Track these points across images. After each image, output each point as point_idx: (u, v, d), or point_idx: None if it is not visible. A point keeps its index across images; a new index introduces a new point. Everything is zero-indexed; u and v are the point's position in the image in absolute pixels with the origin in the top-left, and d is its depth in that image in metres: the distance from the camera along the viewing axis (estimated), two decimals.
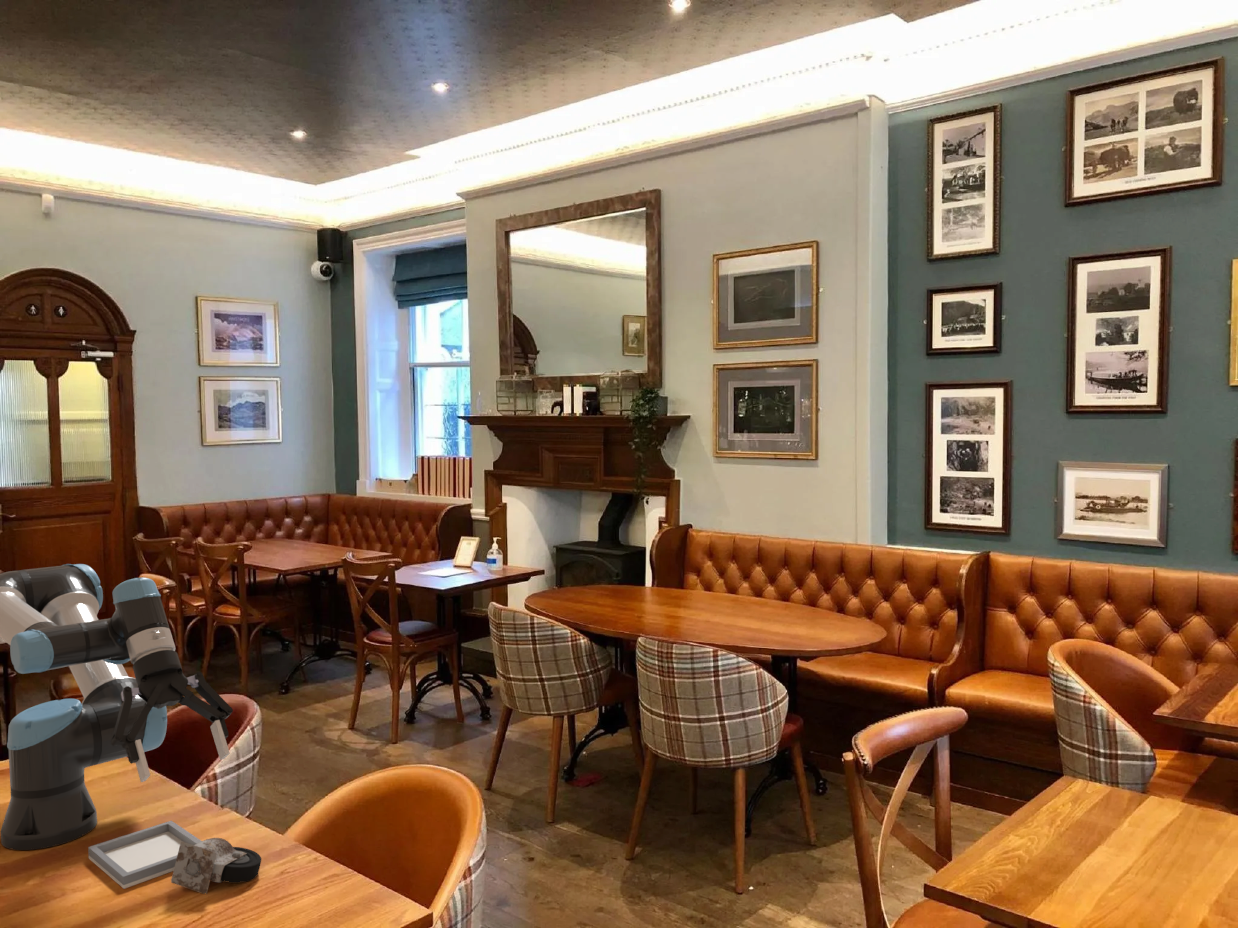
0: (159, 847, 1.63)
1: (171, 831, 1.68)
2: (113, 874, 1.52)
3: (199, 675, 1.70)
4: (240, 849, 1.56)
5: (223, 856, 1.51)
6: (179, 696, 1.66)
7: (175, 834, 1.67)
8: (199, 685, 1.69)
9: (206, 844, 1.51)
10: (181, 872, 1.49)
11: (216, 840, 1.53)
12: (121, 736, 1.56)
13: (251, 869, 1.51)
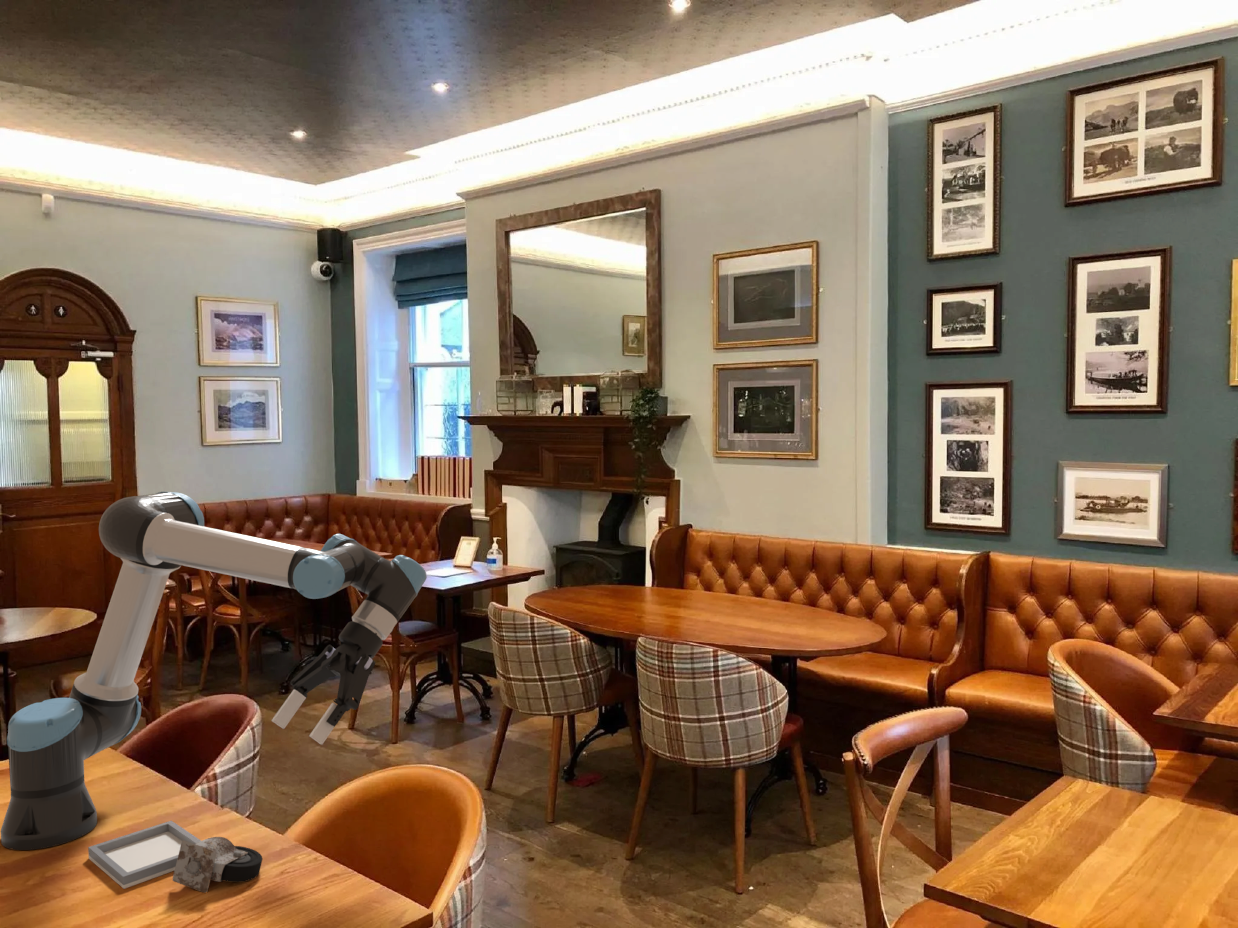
0: (159, 847, 1.63)
1: (171, 831, 1.68)
2: (113, 874, 1.52)
3: None
4: (242, 848, 1.56)
5: (224, 855, 1.52)
6: None
7: (175, 834, 1.67)
8: None
9: (207, 843, 1.51)
10: (182, 871, 1.49)
11: (217, 839, 1.54)
12: None
13: (252, 868, 1.51)
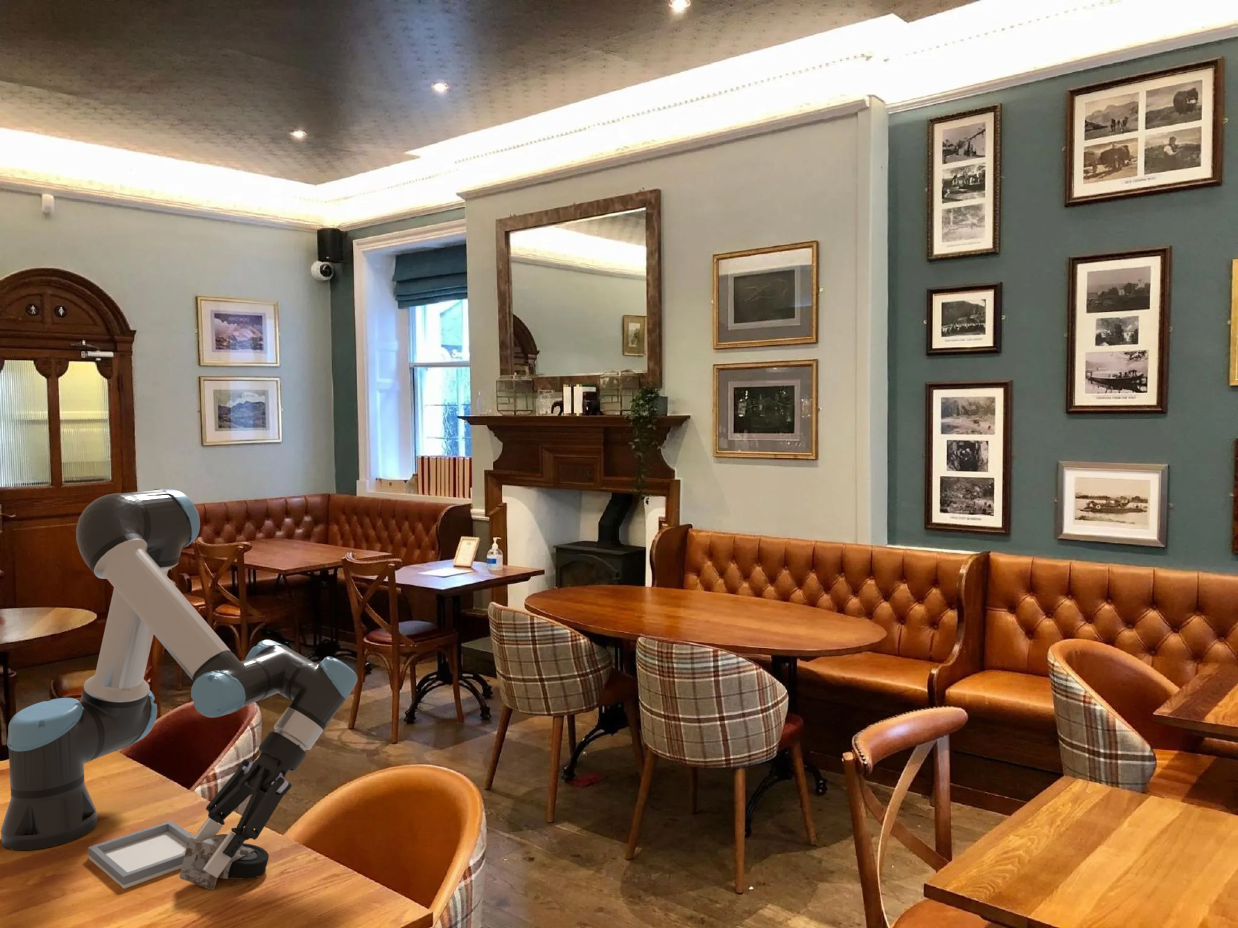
0: (159, 847, 1.63)
1: (171, 831, 1.68)
2: (113, 874, 1.52)
3: None
4: (248, 846, 1.57)
5: None
6: None
7: (175, 834, 1.67)
8: None
9: (214, 840, 1.52)
10: (189, 868, 1.50)
11: (224, 836, 1.54)
12: None
13: (259, 866, 1.52)
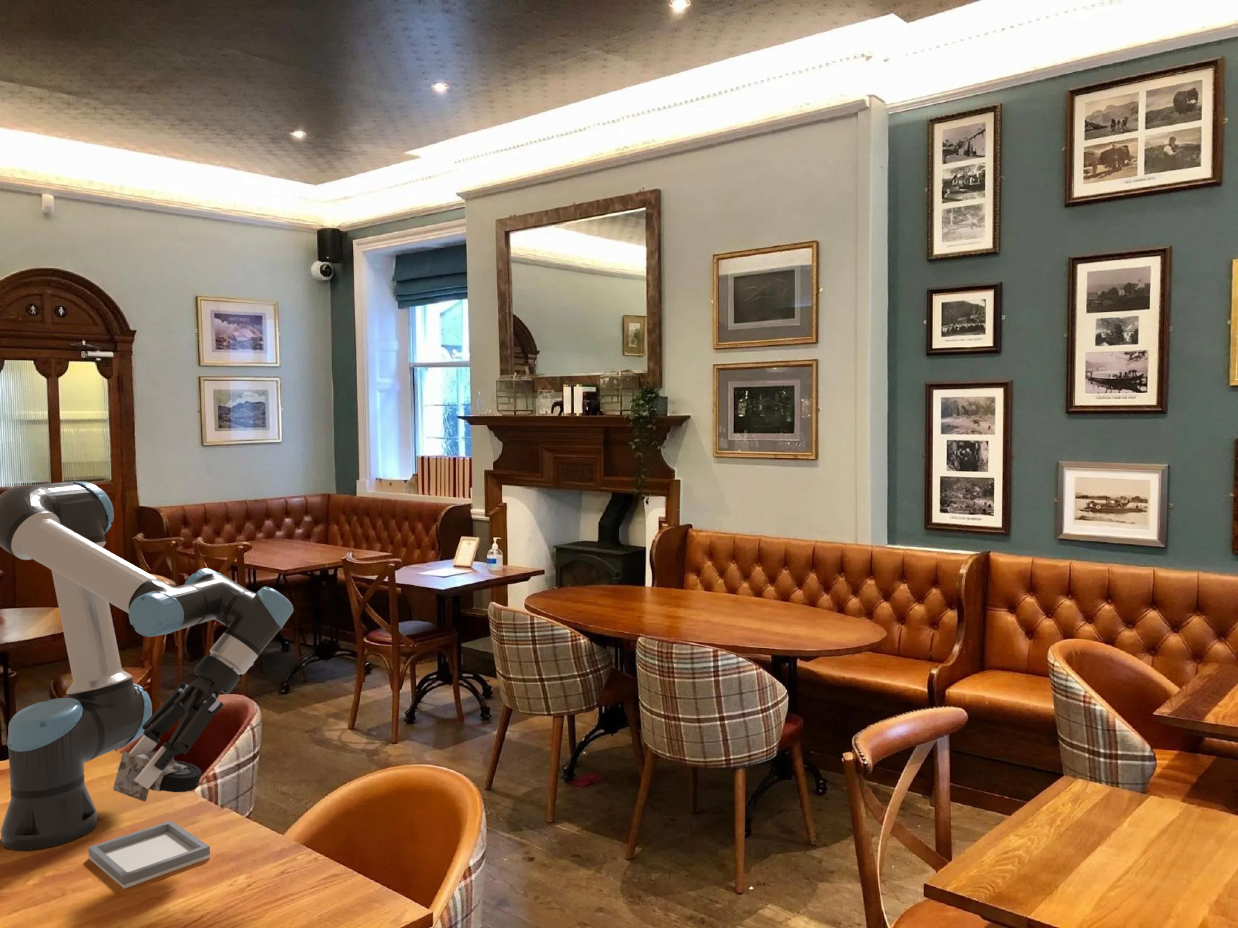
0: (159, 847, 1.63)
1: (171, 831, 1.68)
2: (113, 874, 1.52)
3: None
4: (182, 763, 1.63)
5: None
6: None
7: (175, 834, 1.67)
8: None
9: (148, 755, 1.58)
10: (123, 780, 1.56)
11: None
12: None
13: (190, 780, 1.58)
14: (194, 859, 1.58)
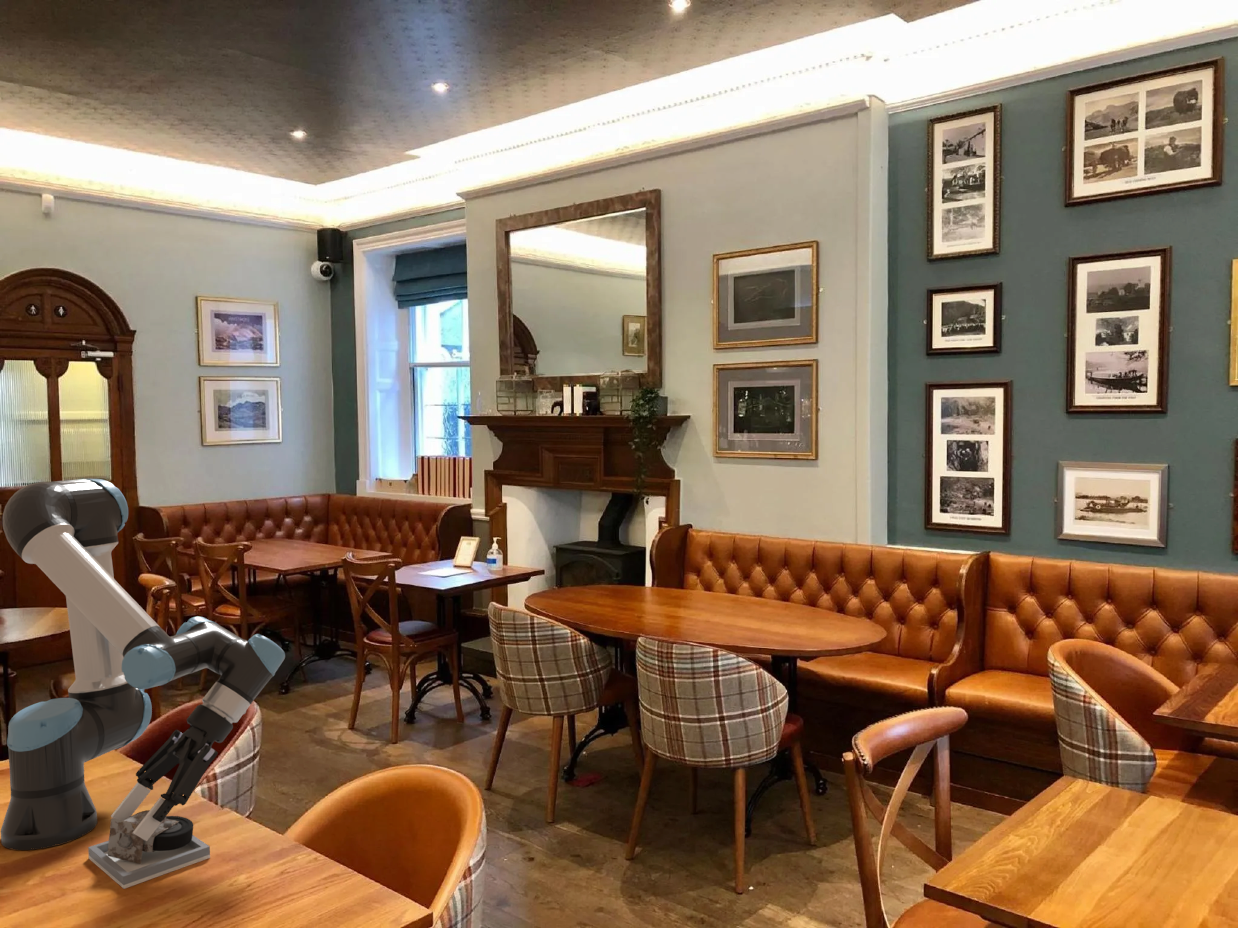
0: None
1: None
2: (113, 874, 1.52)
3: None
4: (173, 818, 1.64)
5: None
6: None
7: None
8: None
9: (136, 818, 1.59)
10: (115, 846, 1.57)
11: (147, 812, 1.61)
12: None
13: (182, 836, 1.59)
14: (194, 859, 1.58)
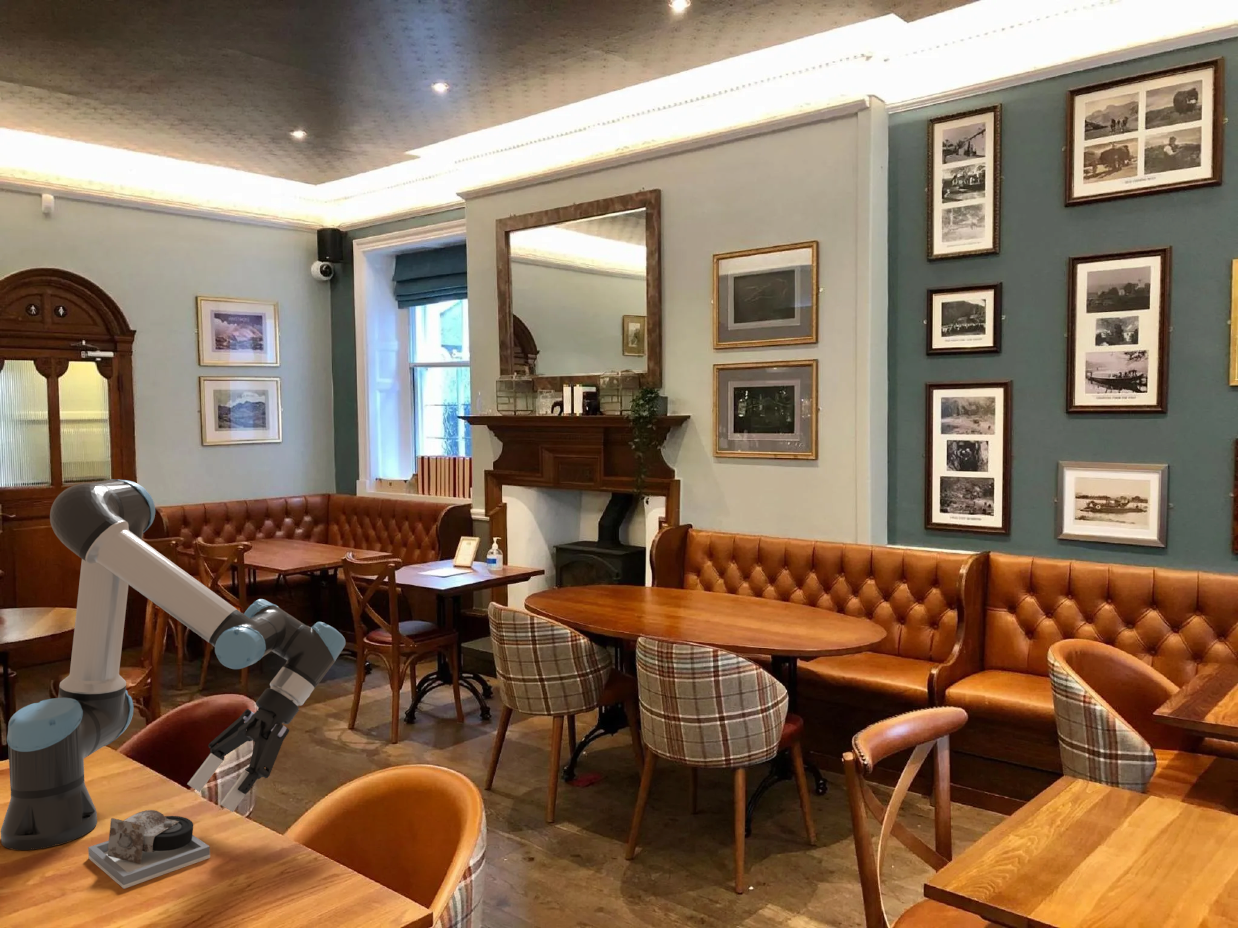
0: None
1: None
2: (113, 874, 1.52)
3: None
4: (173, 818, 1.64)
5: (154, 827, 1.60)
6: None
7: None
8: None
9: (136, 818, 1.59)
10: (115, 846, 1.57)
11: (147, 812, 1.61)
12: None
13: (182, 836, 1.59)
14: (194, 859, 1.58)
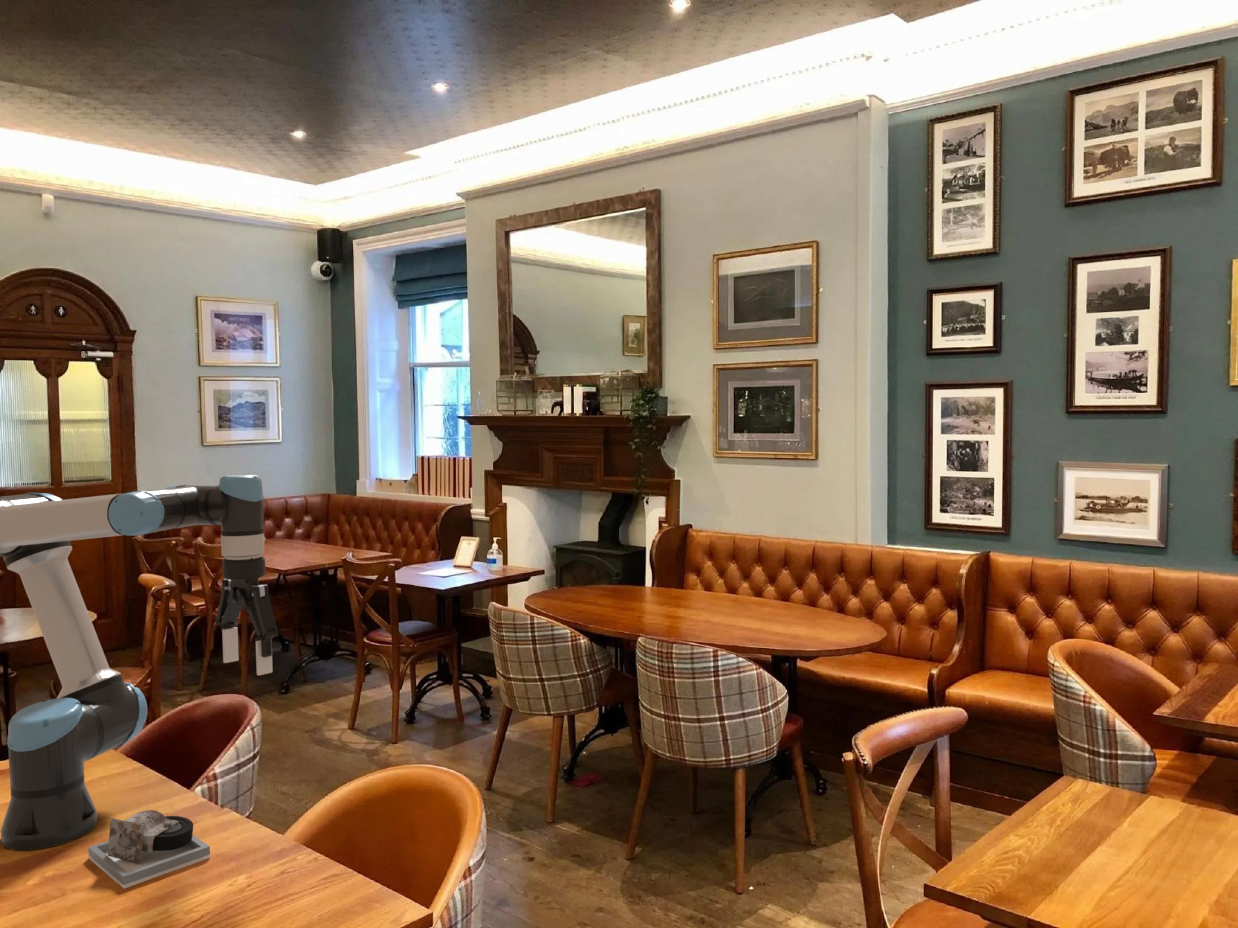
0: None
1: None
2: (113, 874, 1.52)
3: None
4: (173, 818, 1.64)
5: (154, 827, 1.60)
6: None
7: None
8: None
9: (136, 818, 1.59)
10: (115, 846, 1.57)
11: (147, 812, 1.61)
12: None
13: (182, 836, 1.59)
14: (194, 859, 1.58)
